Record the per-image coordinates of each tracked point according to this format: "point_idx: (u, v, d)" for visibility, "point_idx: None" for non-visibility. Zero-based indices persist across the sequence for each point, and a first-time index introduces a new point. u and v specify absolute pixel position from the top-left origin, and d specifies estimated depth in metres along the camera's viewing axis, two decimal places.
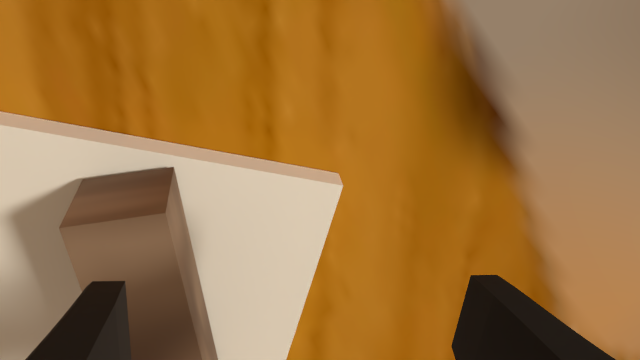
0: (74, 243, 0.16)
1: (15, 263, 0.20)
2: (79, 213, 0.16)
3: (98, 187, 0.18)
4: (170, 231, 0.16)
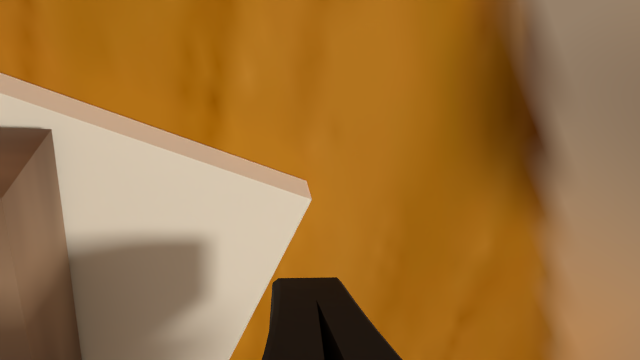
0: None
1: None
2: None
3: None
4: (9, 232, 0.09)
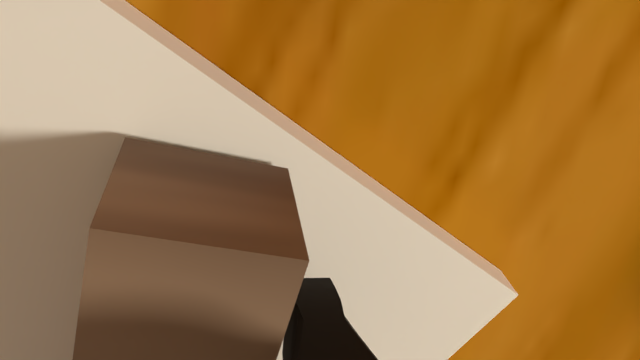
0: (106, 266, 0.07)
1: None
2: (131, 205, 0.08)
3: (159, 162, 0.09)
4: (295, 294, 0.08)
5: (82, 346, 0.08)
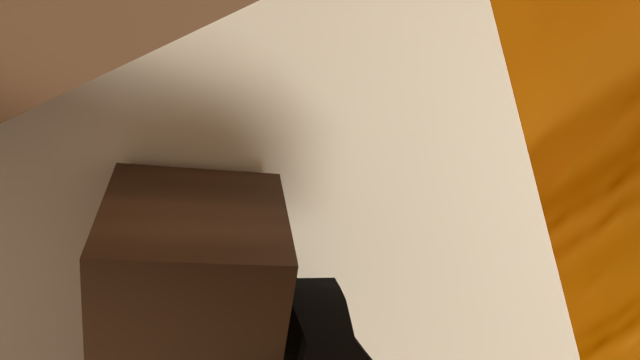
0: (101, 293, 0.08)
1: (305, 262, 0.12)
2: (120, 231, 0.08)
3: (149, 184, 0.10)
4: (291, 300, 0.08)
5: None
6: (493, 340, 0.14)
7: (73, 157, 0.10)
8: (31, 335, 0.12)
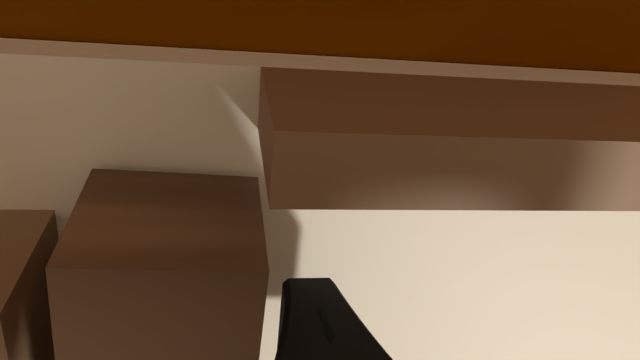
0: (70, 302, 0.08)
1: (469, 350, 0.14)
2: (89, 239, 0.08)
3: (124, 189, 0.09)
4: (264, 305, 0.08)
5: None
6: None
7: None
8: None
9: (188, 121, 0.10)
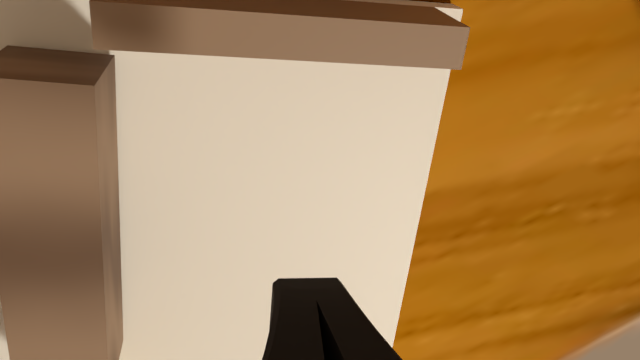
0: None
1: (286, 197, 0.20)
2: None
3: (23, 53, 0.16)
4: (95, 110, 0.15)
5: None
6: (357, 295, 0.23)
7: (209, 80, 0.18)
8: None
9: (68, 17, 0.16)
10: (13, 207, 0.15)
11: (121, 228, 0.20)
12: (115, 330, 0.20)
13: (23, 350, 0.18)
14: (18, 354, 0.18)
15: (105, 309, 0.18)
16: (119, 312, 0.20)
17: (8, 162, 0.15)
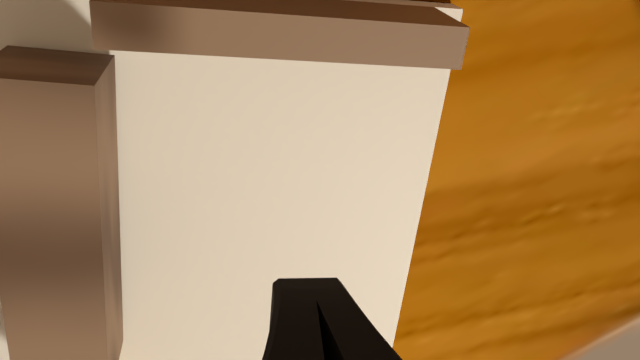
0: None
1: (286, 197, 0.20)
2: None
3: (23, 53, 0.16)
4: (95, 110, 0.15)
5: None
6: (357, 295, 0.23)
7: (209, 80, 0.18)
8: None
9: (68, 17, 0.16)
10: (13, 207, 0.15)
11: (121, 228, 0.20)
12: (115, 330, 0.20)
13: (23, 350, 0.18)
14: (18, 354, 0.18)
15: (105, 309, 0.18)
16: (119, 312, 0.20)
17: (8, 162, 0.15)
